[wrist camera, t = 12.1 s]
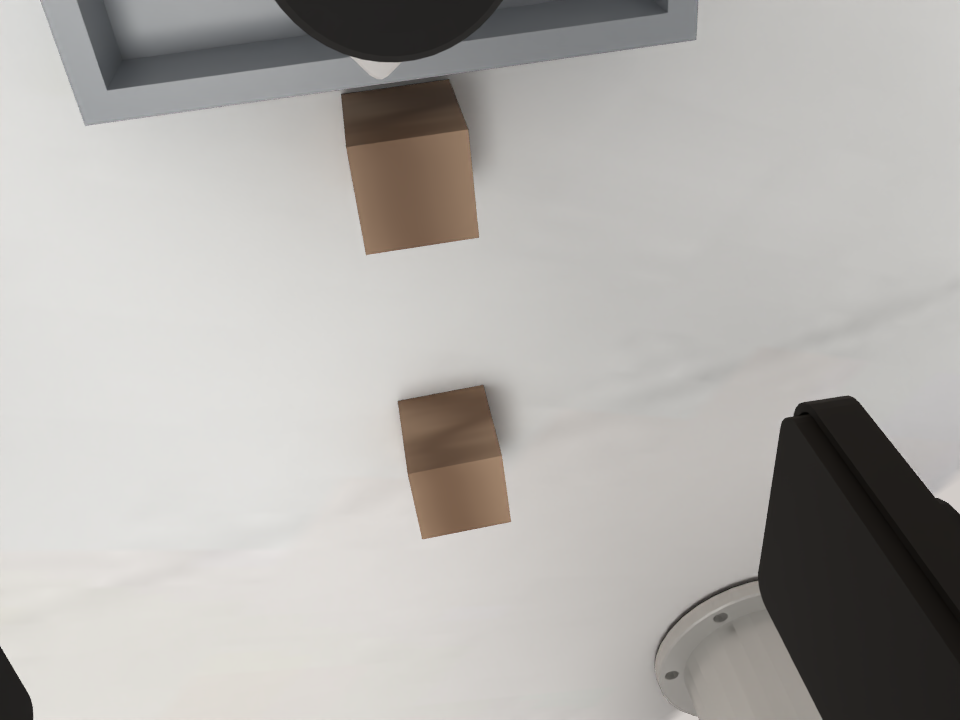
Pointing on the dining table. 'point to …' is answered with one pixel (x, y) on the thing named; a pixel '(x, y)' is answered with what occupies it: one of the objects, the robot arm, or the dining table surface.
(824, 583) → the robot arm
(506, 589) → the dining table surface
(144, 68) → the tray
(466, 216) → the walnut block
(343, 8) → the medicine bottle
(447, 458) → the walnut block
